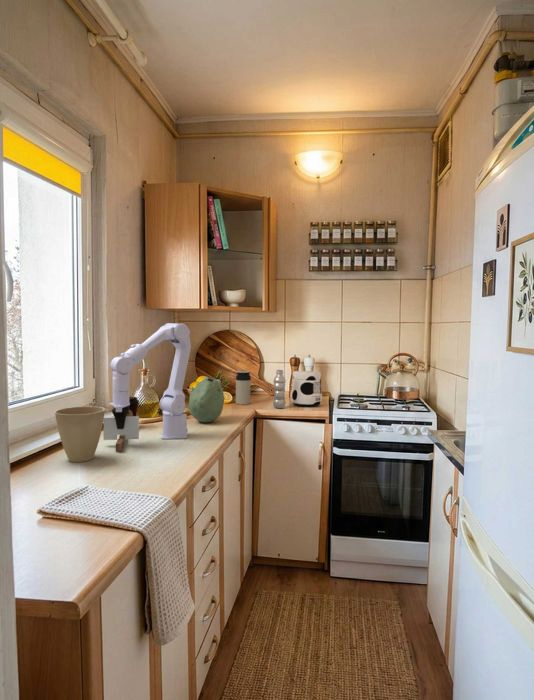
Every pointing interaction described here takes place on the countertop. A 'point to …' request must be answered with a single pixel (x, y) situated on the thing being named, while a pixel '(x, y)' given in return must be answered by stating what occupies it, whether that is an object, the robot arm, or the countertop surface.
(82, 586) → the countertop surface
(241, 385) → the travel mug
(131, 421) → the grey arch block
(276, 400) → the plastic bottle
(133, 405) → the coffee cup
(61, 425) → the plant pot
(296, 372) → the milk container
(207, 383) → the green faceted ovoid
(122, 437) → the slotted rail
